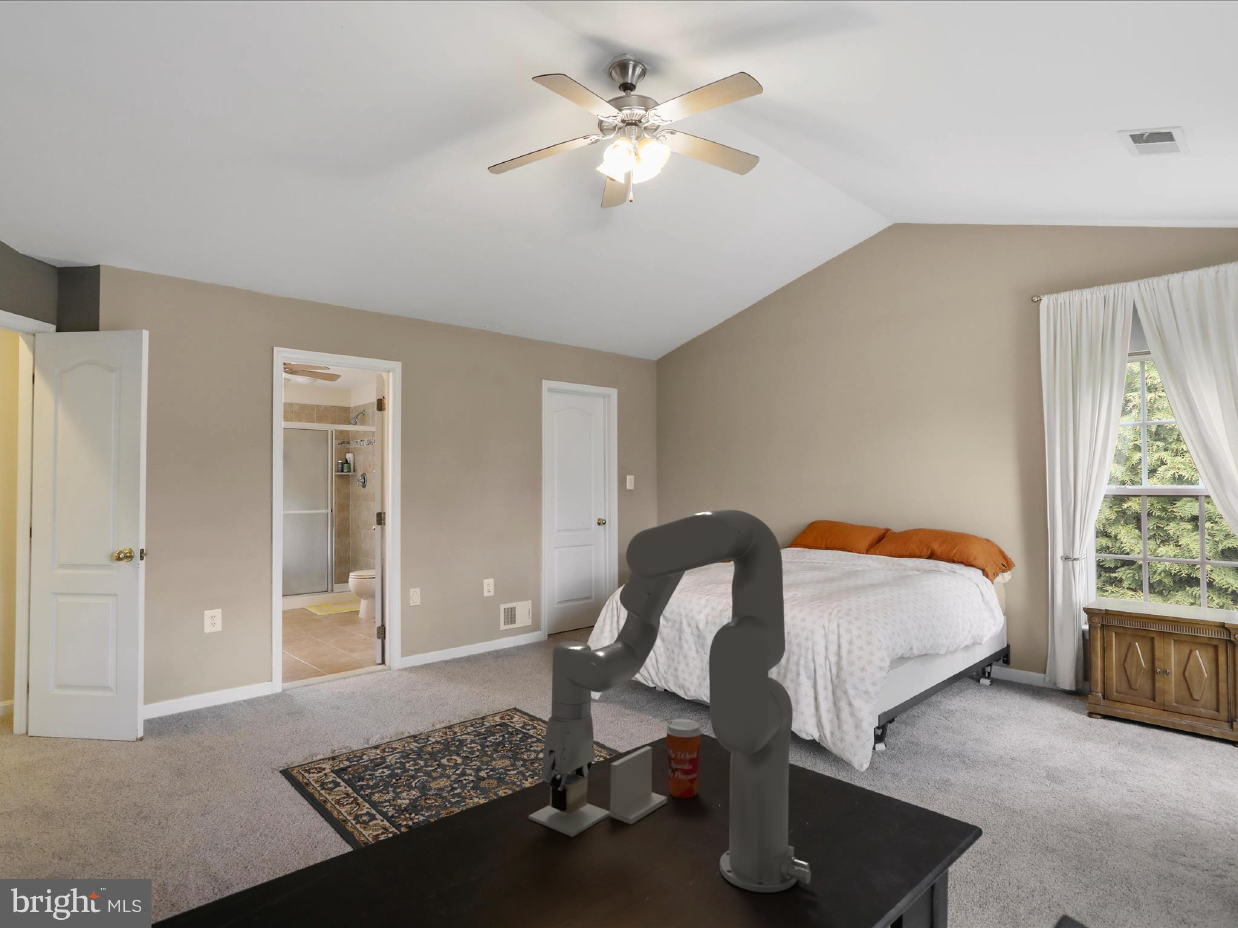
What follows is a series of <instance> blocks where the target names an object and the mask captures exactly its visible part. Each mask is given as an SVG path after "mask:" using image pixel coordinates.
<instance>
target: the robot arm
mask: <svg viewBox="0 0 1238 928" xmlns="http://www.w3.org/2000/svg"><path fill="white" fill-rule="evenodd" d="M625 557H626V563H627V566H628V568H629V570H630V574H629V576H628V577H627V579H626V581H625V583H624V584H623V587H622V589H621V590H620V593H619V595H618V596H619V602H620V604H621V605H622V607H623V608H624V609H625V610H626V611H627V613H626V618H625V620H624V623H623V626H622V627H621V629H620V631H619V633H618V635H617V637H616V638H615V640H614V641H613V642H612V643H610V644H607V645H605V646H602V647H599V648H596V649H595V648H594V649H592V647H591V646H590V644H588V643H586V642H582V641H577V640H574V641H573V640H569V641H568V640H567V641H562V642H559V643H557V644H556V645H555V646H554V648H553V650H552V651H553V652H552V676H551V677H552V680H551V681H552V682H551V712H550V713H551V716H550V717H548V720H547V723H546V729H545V734H544V735H545V736H544V740H543V741H544V742H543V743H544V744H543V754H542V755H543V756H542V757H543V759H542V767H543V770H542V772H541V774H540V778H541V779H543V780H544V781H545V782H546V783H547V784H548V785H549V787H552V804H551V805H552V808H555V809H557V810H560V811H562V812H564V811H565V810H566V789H564V786H565V781H566V776H567V773H569V772H570V773H572V772H573V774H576V775H579V776H581V777H584V778H587V779H588V778H589V775H590V773H589V771H590V769H591V767H592V764H593V762H594V761H595V760H596V757H597V752H596V751H595V748H594V747H595V746H594V745H595V744H594V725H593V717H592V711H591V710H592V709H591V708H592V707H591V706H592V704H591V703H592V692H593V693H603V692H604V693H605V692H607V691H610V690H611V689H614V688H617V686H619V685H621V684H623V683H626V682H628V681H630V680H632V679H633V678H634V677H635V676H636V675H638V674H639V672H640V671H641V669H642V668H643V666H644V665H645V663H646V661H647V659H648V657H649V655H650V654H651V652H652V650H653V649H654V646H655V644H656V642H657V640H658V635H659V631H660V626H661V617H662V615H663V613H664V611H665V609H666V608H667V605H668V604H669V601H670V600H671V598H672V597H673V594H674V592H675V591H676V589H677V587H678V586H679V583H680V582H681V581H682V579H683V577H684V574H685V573H686V572H688V571H691V570H695V569H698V568H701V567H705V566H708V565H713V564H717V563H721V562H726V561H732V563H733V567H734V570H733V577H732V580H731V581H732V582H731V620H730V621H728V622H727V623H725V624H724V625H722V626H721V627H720V628H719V629H718V630H717V631H716V632H715V634H714V636H713V638H712V641H711V644H710V648H709V657H708V668H709V669H708V670H709V673H708V675H709V676H708V677H709V679H708V680H709V717H710V723H711V724H710V725H711V729H712V731H713V734H714V737H715V738H716V740H717V742H719V744H720V745H721V746H722V748H724V749H725V750H726V751H727V752H730V758H729V759H730V762H729V763H730V764H729V821H728V822H729V825H728V827H729V834H728V839H729V840H728V841H729V845H728V847H729V848H728V850H726V852H724V853H723V854H722V855H721V857H720V858H719V871H720V874H721V875H722V876H723V878H725V879H726V880H727V881H728V882H730V884H732V885H734V886H736V887H739V888H741V889H743V890H747V891H751V892H756V893H770V894H771V893H779V892H782V891H785V890H787V889H790V888H791V887H792V886H793V885H795V884H796V883H797V881H799V882H801V883H805V884H807V885H808V884H810V881H811V877H812V872H811V870H810V866H811V865H810V863H809V862H807V861H804V860H799V859H797V857H796V856H794V855H795V847H794V846H792V845H789V779H790V778H789V773H790V772H789V771H790V767H789V766H790V748H791V747H790V745H791V736H792V728H793V704H792V699H791V696H790V695H789V693H788V690H787V689H786V688H785V686H784V685H783V684H782V683H781V682H780V681H778V680H777V679H775V678H773V677H770V676H769V671H771V670H772V669H774V668H775V667H776V666H777V665H778V664H780V662H781V660H782V659H783V657H784V656H785V651H786V635H785V633H786V632H785V602H784V601H785V600H784V579H783V578H784V577H783V576H784V574H783V573H784V572H783V571H784V570H783V557H782V551H781V548H780V545H779V542H778V538H777V536H776V535H775V533H774V532H773V531H772V529H771V528H770V527H769V526H768V524H766V522H764V521H762V520H761V519H760V518H758V517H757V516H756V515H753V514H751V513H749V512H745V511H742V510H739V509H721V510H708V511H702V512H698V513H694V514H692V515H691V514H690V515H688V516H685V517H682V518H678V519H675V520H672V521H670V522H666V523H663V524H660V525H657V526H653V527H650V528H646V529H643V530H641V531H639V532H637V533H636V534H634V536H633V537H632V538H631V539H630V542H629V543H628V545H627V548H626V553H625ZM558 776H560V780H559V781H558V780H557V777H558Z"/></svg>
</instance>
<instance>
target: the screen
mask: <svg viewBox="0 0 1238 928" xmlns="http://www.w3.org/2000/svg"><path fill="white" fill-rule="evenodd" d="M652 770H653V747H651V746H649V745H648V746H645V747H642V748H640V749H638V750H635V751H634V752H632V753H630V754H627V755H626V756H624V757H622V758H620V759H618V760H616V761H614V762H612V763H610V804H609V807H610V808H609V810H610V811H609V812H610V815H609V816H610V818H612V819H616V820H618V821H622V823H623V822H624V823H626V824H629V825H633V824H634V823H636V822H637V821H639V820H641V819H642V818H644V817H646V816H647V815H648V814H650V813H652V812H654V811H656V810H657V809H658V808H661V807H662V806H663V805H665V804H666V803H668V797H667V796H665V795H660V794H658V793H655V792H654V791H653V792H652V789H653V788H652V787H653V786H652V777H653V776H652V775H653V774H652V773H653V771H652Z"/></svg>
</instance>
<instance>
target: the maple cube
mask: <svg viewBox="0 0 1238 928" xmlns="http://www.w3.org/2000/svg"><path fill="white" fill-rule="evenodd" d="M557 780H558V781H559V780H560V775H557ZM549 787H550V786H549ZM564 789H566V810H565V811H564V812H565V813H568V814H571V813H573V812H574V811H576V810H578V809H580V808H582V807H584V806H586V805H587V803H588V778H584V777H581V776H579V775H576V774H574V772H569V773H567V776H566V781H565V786H564ZM551 804H552V787H550V788H549V805H550V807H552V805H551Z"/></svg>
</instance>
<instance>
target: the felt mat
mask: <svg viewBox="0 0 1238 928" xmlns="http://www.w3.org/2000/svg"><path fill="white" fill-rule="evenodd" d="M609 816H610V811H609V810H606V809H605V808H604V809H603V808H601V807H598V806H595V805H593V804H590V803H588V802H587V805H586V806H584V807H582V808H580V809H578V810H576V811H574V812H573V813H571V814H568V813H565V812H562V811H560V810H557V809H555V808H552V807H550V804H548V805H547V806H544V807H543V808H541V809H539V810H537V811H535V812H533V813H531V814H529V815H528V819H529V820H531V821H534V822H535V823H538V824H541V825H542V826H546V827H548V828H550V829H552V830H555V831H557V832H560V833H562V834H565V835H567V836H569V837H571V838H573V837H575V836H576V835H579V834H580V833H581V832H583V831H585V830H587V829H588V828H590V827H592V826H594V825H596V824H597V823H599V822H601V821H603V820H604V819H607V818H608V817H609Z"/></svg>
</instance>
